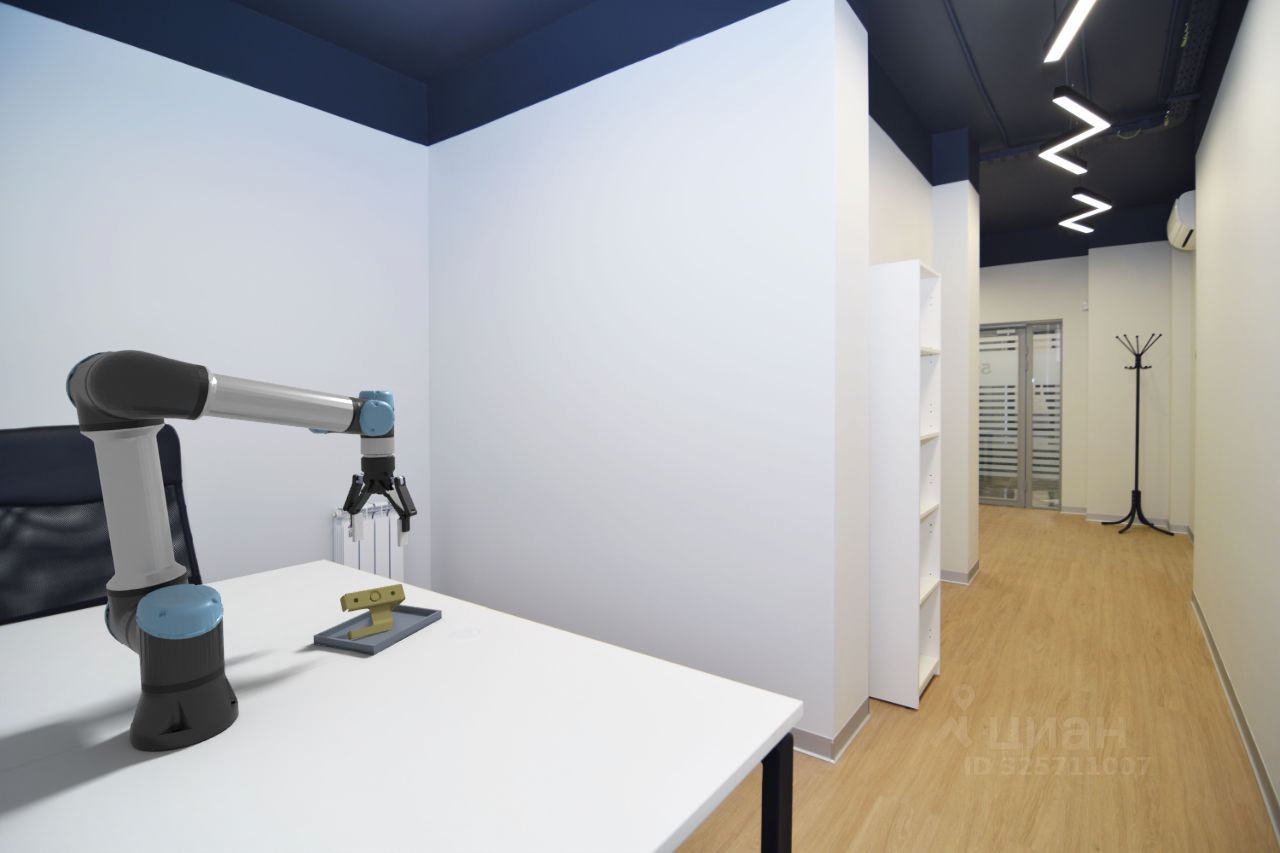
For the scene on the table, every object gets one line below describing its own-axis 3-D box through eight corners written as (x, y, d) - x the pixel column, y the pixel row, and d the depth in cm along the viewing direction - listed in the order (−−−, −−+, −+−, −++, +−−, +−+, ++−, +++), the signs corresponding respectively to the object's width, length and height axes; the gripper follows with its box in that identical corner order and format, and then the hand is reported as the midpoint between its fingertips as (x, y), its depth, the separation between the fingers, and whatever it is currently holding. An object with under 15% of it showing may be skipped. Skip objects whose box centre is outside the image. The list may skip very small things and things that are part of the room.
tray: (373, 655, 137) (373, 646, 137) (313, 644, 143) (313, 635, 143) (441, 618, 159) (441, 610, 159) (387, 610, 165) (386, 602, 164)
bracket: (396, 637, 158) (412, 623, 152) (337, 651, 148) (351, 637, 142) (387, 597, 162) (402, 582, 156) (328, 609, 152) (342, 593, 146)
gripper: (431, 455, 149) (433, 543, 150) (349, 451, 158) (351, 535, 159) (409, 458, 142) (411, 551, 143) (325, 454, 151) (327, 542, 152)
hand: (380, 543), depth 151 cm, fingers open, 13 cm apart
